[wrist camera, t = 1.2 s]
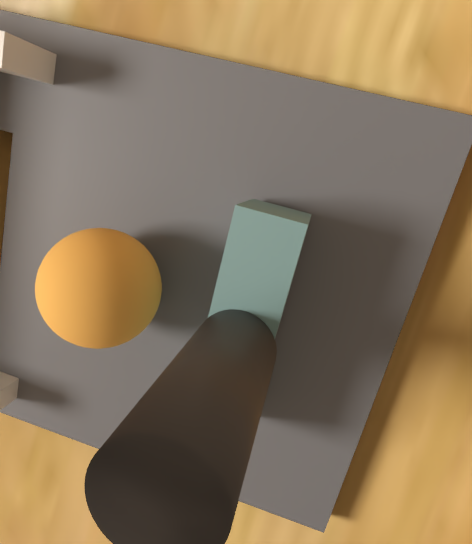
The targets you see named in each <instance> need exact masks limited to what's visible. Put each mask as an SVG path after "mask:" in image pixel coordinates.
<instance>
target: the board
mask: <svg viewBox="0 0 472 544" xmlns="http://www.w3.org/2000/svg"><path fill="white" fill-rule="evenodd" d="M0 30H1V31H5V32H7V33H9V34H12V35H14V36H16V37H18V38H21V39H23V40H25V41H27V42H30V43H32V44H34V45H36V46H39V47H41V48H43V49H45V50H48V51H50V52H52V53H54V54H57V56H56V64H55V73H54V81H53V85H52V84H48V83H44V82H40V81H36V80H32V79H28V78H24V77H20V76H16V75H12V74H8V73H4V72H0V130H3V131H7V132H11V133H13V138H12V148H11V159H10V169H9V180H8V190H7V201H6V211H5V222H4V233H3V243H2V254H1V264H0V372H3V373H6V374H8V375H11V376H14V377H17V378H19V383H18V391H17V398H16V399H15V400H14V401H12V402H11V403H9V404H8V405H7V406H5V407H4V408H3V409H1V410H0V412H1V413H4V414H6V415H9V416H12V417H15V418H17V419H20V420H23V421H25V422H28V423H31V424H33V425H36V426H39V427H41V428H44V429H47V430H49V431H52V432H55V433H58V434H60V435H63V436H66V437H68V438H71V439H74V440H76V441H79V442H82V443H84V444H87V445H90V446H92V447H95V448H98V449H100V448H101V446H102V445H103V444H104V443H105V442H106V440H107V439H108V438H109V437H110V436H111V434H112V433H113V432H114V431H115V429H116V428H117V427H118V426H119V425H120V423H121V422H122V421H123V420H124V418H125V417H126V416H127V415H128V414H129V412H130V411H131V410H132V409H133V408H134V406H135V405H136V404H137V403H138V401H139V400H140V399H141V398H142V397H143V395H144V394H145V393H146V392H147V390H148V389H149V388H150V387H151V386H152V384H153V383H154V382H155V381H156V380H157V378H158V377H159V376H160V375H161V373H162V372H163V371H164V370H165V369H166V367H167V366H168V365H169V364H170V362H171V361H172V360H173V359H174V358H175V356H176V355H177V354H178V353H179V351H180V350H181V349H182V348H183V347H184V345H185V344H186V343H187V342H188V341H189V339H190V338H191V337H192V336H193V334H194V333H195V332H196V331H197V330H198V328H199V327H200V326H201V325H202V323H203V322H204V321H205V320H206V319H207V318H208V315H209V311H210V307H211V303H212V299H213V294H214V290H215V286H216V282H217V278H218V274H219V270H220V266H221V262H222V257H223V253H224V249H225V245H226V241H227V237H228V233H229V229H230V224H231V220H232V216H233V212H234V208H235V205H236V204H239V203H242V202H245V201H248V200H251V199H257V200H261V201H264V202H268V203H272V204H276V205H279V206H283V207H287V208H290V209H294V210H298V211H302V212H305V213H309V214H312V215H311V218H310V222H309V225H308V229H307V232H306V235H305V239H304V242H303V246H302V249H301V252H300V256H299V259H298V263H297V266H296V270H295V273H294V276H293V280H292V283H291V287H290V290H289V293H288V297H287V300H286V304H285V307H284V310H283V314H282V317H281V321H280V324H279V327H278V331H277V334H276V338H275V342H276V347H277V356H276V361H275V365H274V369H273V372H272V376H271V380H270V384H269V387H268V391H267V395H266V399H265V402H264V406H263V410H262V414H261V417H260V421H259V425H258V429H257V432H256V436H255V440H254V444H253V447H252V451H251V455H250V459H249V462H248V466H247V470H246V474H245V477H244V481H243V485H242V489H241V492H240V496H239V500H238V501H240V502H243V503H246V504H248V505H251V506H254V507H256V508H259V509H262V510H264V511H267V512H270V513H272V514H275V515H278V516H281V517H283V518H286V519H289V520H291V521H294V522H297V523H299V524H302V525H305V526H307V527H310V528H313V529H315V530H318V531H321V532H324V531H325V528H326V526H327V523H328V521H329V518H330V515H331V513H332V510H333V507H334V505H335V502H336V500H337V497H338V494H339V492H340V489H341V486H342V484H343V481H344V479H345V476H346V473H347V471H348V468H349V465H350V463H351V460H352V458H353V455H354V452H355V450H356V447H357V444H358V442H359V439H360V437H361V434H362V431H363V429H364V426H365V423H366V421H367V418H368V416H369V413H370V410H371V408H372V405H373V402H374V400H375V397H376V395H377V392H378V389H379V387H380V384H381V381H382V379H383V376H384V373H385V371H386V368H387V366H388V363H389V360H390V358H391V355H392V352H393V350H394V347H395V345H396V342H397V339H398V337H399V334H400V331H401V329H402V326H403V324H404V321H405V318H406V316H407V313H408V310H409V308H410V305H411V303H412V300H413V297H414V295H415V292H416V289H417V287H418V284H419V282H420V279H421V276H422V274H423V271H424V268H425V266H426V263H427V261H428V258H429V255H430V253H431V250H432V247H433V245H434V242H435V240H436V237H437V234H438V232H439V229H440V226H441V224H442V221H443V219H444V216H445V213H446V211H447V208H448V205H449V203H450V200H451V198H452V195H453V192H454V190H455V187H456V184H457V182H458V179H459V177H460V174H461V171H462V169H463V166H464V163H465V161H466V158H467V156H468V153H469V150H470V148H471V145H472V115H467V114H463V113H458V112H454V111H449V110H445V109H440V108H436V107H431V106H427V105H423V104H418V103H414V102H409V101H405V100H400V99H396V98H391V97H387V96H382V95H378V94H374V93H369V92H365V91H360V90H356V89H351V88H347V87H342V86H338V85H333V84H329V83H325V82H320V81H316V80H311V79H307V78H302V77H298V76H293V75H289V74H284V73H280V72H276V71H271V70H267V69H262V68H258V67H253V66H249V65H244V64H240V63H235V62H231V61H227V60H222V59H218V58H213V57H209V56H204V55H200V54H195V53H191V52H186V51H182V50H178V49H173V48H169V47H164V46H160V45H155V44H151V43H146V42H142V41H137V40H133V39H129V38H124V37H120V36H115V35H111V34H106V33H102V32H97V31H93V30H88V29H84V28H80V27H75V26H71V25H66V24H62V23H57V22H53V21H48V20H44V19H39V18H35V17H31V16H26V15H22V14H17V13H13V12H8V11H4V10H0ZM90 228H108V229H113V230H118V231H121V232H123V233H126V234H128V235H130V236H132V237H133V238H135V239H136V240H138V241H139V242H140V243H141V244H143V245H144V246H145V247H146V248H147V250H148V251H149V252H150V253H151V255H152V256H153V258H154V260H155V262H156V263H157V266H158V269H159V272H160V276H161V282H162V293H161V300H160V304H159V307H158V309H157V312H156V314H155V316H154V317H153V319H152V321H151V322H150V323H149V325H148V326H147V327H146V328H145V329H144V330H143V331H142V332H141V333H140V334H139V335H137V336H136V337H134V338H133V339H131V340H130V341H128V342H125V343H123V344H121V345H118V346H114V347H110V348H102V349H93V348H85V347H81V346H77V345H75V344H72V343H70V342H68V341H66V340H64V339H62V338H61V337H60V336H58V335H57V334H56V333H55V332H54V331H52V329H51V328H50V327H49V326H48V325H47V323H46V322H45V321H44V319H43V317H42V315H41V313H40V311H39V309H38V306H37V302H36V297H35V282H36V276H37V272H38V269H39V267H40V265H41V263H42V261H43V259H44V257H45V256H46V254H47V253H48V252H49V251H50V249H51V248H52V247H53V246H54V245H55V244H56V243H58V242H59V241H60V240H62V239H63V238H65V237H67V236H68V235H70V234H72V233H75V232H78V231H81V230H85V229H90Z"/></svg>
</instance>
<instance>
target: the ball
mask: <svg viewBox="0 0 472 544" xmlns="http://www.w3.org/2000/svg"><path fill="white" fill-rule="evenodd" d="M161 293H162V282H161V276H160V272H159V269H158V266H157V263H156V262H155V260H154V258H153V256H152V255H151V253H150V252H149V251H148V250H147V248H146V247H145V246H144V245H143V244H141V243H140V242H139V241H138V240H136V239H135V238H133V237H132V236H130V235H128V234H126V233H123V232H121V231H118V230H113V229H108V228H90V229H85V230H81V231H78V232H75V233H72V234H70V235H68V236H67V237H65V238H63V239H62V240H60V241H59V242H58V243H56V244H55V245H54V246H53V247H52V248H51V249H50V251H49V252H48V253H47V254H46V256H45V257H44V259H43V261H42V263H41V265H40V267H39V269H38V272H37V276H36V282H35V297H36V302H37V306H38V309H39V311H40V313H41V315H42V317H43V319H44V321H45V322H46V323H47V325H48V326H49V327H50V328H51V329H52V331H54V332H55V333H56V334H57V335H58V336H60V337H61V338H62V339H64V340H66V341H68V342H70V343H72V344H75V345H77V346H81V347H85V348H93V349H102V348H110V347H114V346H118V345H121V344H123V343H125V342H128V341H130V340H131V339H133V338H134V337H136V336H137V335H139V334H140V333H141V332H142V331H143V330H144V329H145V328H146V327H147V326H148V325H149V323H150V322H151V321H152V319H153V317H154V316H155V314H156V312H157V309H158V307H159V304H160V300H161Z"/></svg>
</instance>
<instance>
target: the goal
mask: <svg viewBox="0 0 472 544" xmlns="http://www.w3.org/2000/svg"><path fill="white" fill-rule="evenodd" d="M56 56H57V54H54V53H52V52H50V51H48V50H45V49H43V48H41V47H39V46H36V45H34V44H32V43H30V42H27V41H25V40H23V39H21V38H18V37H16V36H14V35H12V34H9V33H7V32H5V31H1V30H0V72H4V73H8V74H12V75H16V76H20V77H24V78H28V79H32V80H36V81H40V82H44V83H48V84H52V85H53V81H54V73H55V64H56ZM18 383H19V378H17V377H14V376H11V375H8V374H6V373H3V372H0V410H1V409H3V408H4V407H5V406H7V405H8V404H9V403H11V402H12V401H14V400H15V399H16V398H17V391H18Z"/></svg>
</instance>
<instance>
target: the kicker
mask: <svg viewBox="0 0 472 544" xmlns="http://www.w3.org/2000/svg"><path fill="white" fill-rule="evenodd" d="M311 215H312V214H309V213H305V212H302V211H298V210H294V209H290V208H287V207H283V206H279V205H276V204H272V203H268V202H264V201H261V200H257V199H251V200H248V201H245V202H242V203H239V204H236V205H235V208H234V212H233V216H232V220H231V224H230V229H229V233H228V237H227V241H226V245H225V249H224V253H223V257H222V262H221V266H220V270H219V274H218V278H217V282H216V286H215V290H214V294H213V299H212V303H211V307H210V311H209V315H208V318H207V319H206V320H205V321H204V322H203V323H202V325H201V326H200V327H199V328H198V330H197V331H196V332H195V333H194V334H193V336H192V337H191V338H190V339H189V341H188V342H187V343H186V344H185V345H184V347H183V348H182V349H181V350H180V351H179V353H178V354H177V355H176V356H175V358H174V359H173V360H172V361H171V362H170V364H169V365H168V366H167V367H166V369H165V370H164V371H163V372H162V373H161V375H160V376H159V377H158V378H157V380H156V381H155V382H154V383H153V384H152V386H151V387H150V388H149V389H148V390H147V392H146V393H145V394H144V395H143V397H142V398H141V399H140V400H139V401H138V403H137V404H136V405H135V406H134V408H133V409H132V410H131V411H130V412H129V414H128V415H127V416H126V417H125V418H124V420H123V421H122V422H121V423H120V425H119V426H118V427H117V428H116V429H115V431H114V432H113V433H112V434H111V436H110V437H109V438H108V439H107V440H106V442H105V443H104V444H103V445H102V446H101V448H100V449H99V450H98V451H97V453H96V454H95V455H94V457H93V458H92V460H91V462H90V464H89V466H88V468H87V472H86V476H85V496H86V501H87V504H88V508H89V510H90V513H91V515H92V517H93V519H94V521H95V522H96V524H97V526H98V527H99V529H100V530H101V531H102V533H103V534H104V535H105V536H106V537H107V538H108V539H109V540H110V541H111V542H112V543H113V544H224V543H225V542H226V540H227V538H228V536H229V533H230V530H231V526H232V522H233V519H234V515H235V511H236V507H237V504H238V500H239V496H240V492H241V489H242V485H243V481H244V477H245V474H246V470H247V466H248V462H249V459H250V455H251V451H252V447H253V444H254V440H255V436H256V432H257V429H258V425H259V421H260V417H261V414H262V410H263V406H264V402H265V399H266V395H267V391H268V387H269V384H270V380H271V376H272V372H273V369H274V365H275V361H276V356H277V347H276V342H275V338H276V334H277V331H278V327H279V324H280V321H281V317H282V314H283V310H284V307H285V304H286V300H287V297H288V293H289V290H290V287H291V283H292V280H293V276H294V273H295V270H296V266H297V263H298V259H299V256H300V252H301V249H302V246H303V242H304V239H305V235H306V232H307V229H308V225H309V222H310V218H311Z"/></svg>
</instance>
